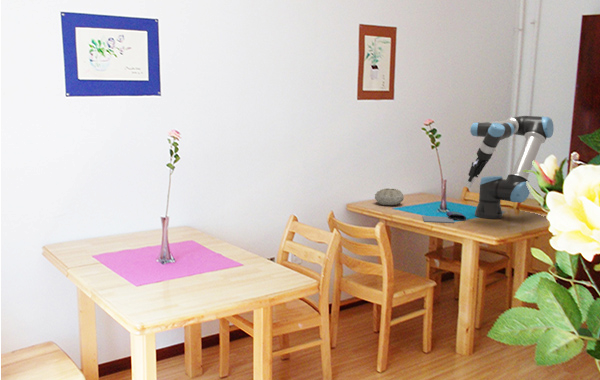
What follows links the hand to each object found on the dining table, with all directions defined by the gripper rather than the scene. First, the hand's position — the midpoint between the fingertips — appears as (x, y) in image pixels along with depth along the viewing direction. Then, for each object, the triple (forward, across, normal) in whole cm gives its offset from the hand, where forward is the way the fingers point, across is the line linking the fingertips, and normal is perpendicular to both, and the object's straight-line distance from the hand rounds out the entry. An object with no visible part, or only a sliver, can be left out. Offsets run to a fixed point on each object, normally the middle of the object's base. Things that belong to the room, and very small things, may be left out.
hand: (468, 185), depth 319 cm
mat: (+20, -16, 0) cm, 25 cm away
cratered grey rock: (+44, -3, +39) cm, 59 cm away
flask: (+16, -7, -6) cm, 18 cm away
